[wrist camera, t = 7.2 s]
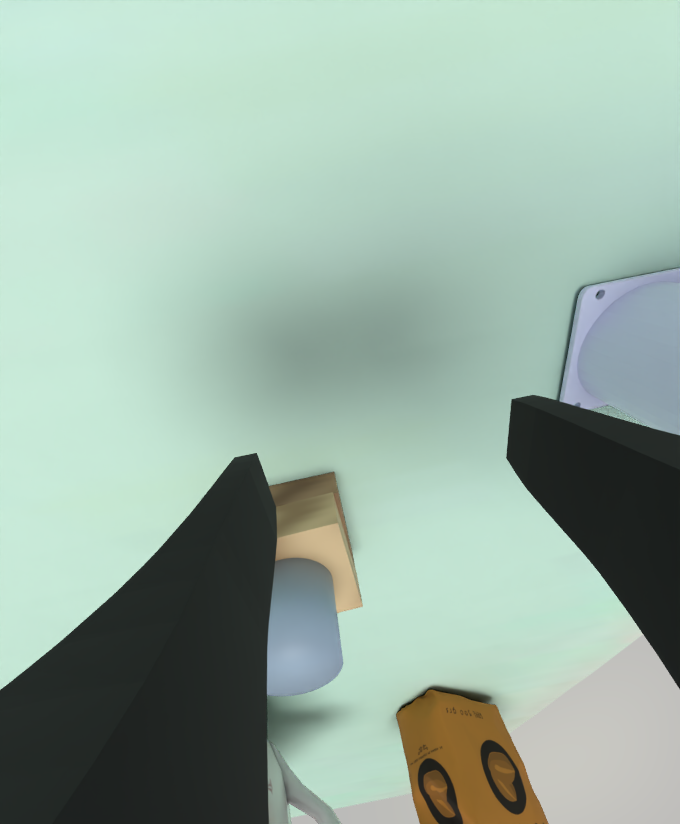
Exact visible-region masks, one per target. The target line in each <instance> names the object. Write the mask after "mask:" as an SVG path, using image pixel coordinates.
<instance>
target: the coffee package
mask: <svg viewBox="0 0 680 824" xmlns="http://www.w3.org/2000/svg"><path fill="white" fill-rule="evenodd" d="M396 717H397V721H398V725H399V729H400V734H401V738H402V744H403V748H404V753H405V757H406V761H407V765H408V771H409V778H410V783H411V789H412V796H413V801H414V804H415V808H416V811H417V815H418V818H419V822H420V824H548V821H547V819H546V817H545V814H544V812H543V809H542V807H541V805H540V802H539V800H538V799H537V797H536V795H535V793H534V791H533V789H532V787H531V784H530V781H529V779H528V775H527V772H526V769H525V766H524V763H523V761H522V760H521V758H520V756H519V754H518V752H517V750H516V748H515V746H514V744H513V742H512V739H511V737H510V735H509V733H508V731H507V729H506V727H505V724H504V722H503V720H502V718H501V715H500V713H499V710H498V708H497V706H496V705H492V704H486V703H481V702H477V701H473V700H469V699H467V698H465V697H463V696H459V695H455V694H449V693H443V692H438V691H435V690H432V689H431V690H428V691H427V692H426V694H425V695H424V696H420V697H417V698H416V699H415V700H414V701H413V702H412V704H409V705H406V706H405V708H401V711H399V712H398V713H397V715H396Z"/></svg>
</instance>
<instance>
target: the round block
mask: <svg viewBox="0 0 680 824" xmlns="http://www.w3.org/2000/svg"><path fill="white" fill-rule="evenodd" d="M342 666H343V657H342V650H341V642H340V634H339V626H338V618H337V610H336V602H335V594H334V586H333V578H332V575H331V573H330V571H329V570H328V569H327V568H326V567H325V566H324V565H322V564H321V563H319V562H316V561H314V560H310V559H306V558H286V559H281V560H277V561H275V569H274V578H273V588H272V598H271V608H270V617H269V629H268V645H267V695H270V696H291V695H298V694H303V693H307V692H310V691H313V690H316V689H318V688H320V687H322V686H324V685H326V684H328V683H329V682H331V681H332V680H333V679H334V678H335V677H336V676H337V675H338V674H339V672H340V671H341V669H342Z"/></svg>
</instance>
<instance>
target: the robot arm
mask: <svg viewBox="0 0 680 824" xmlns="http://www.w3.org/2000/svg"><path fill="white" fill-rule="evenodd" d="M598 291H599V294H598V296H597V297H596V294H597V292H598ZM575 403H576V404H575ZM574 404H575V405H574ZM608 405H610V406H612V407H614V408H616V409H618V410H619V411H621V412H623V413H625V414H627V415H629V416H630V417H632V418H634V419H636V420H638V421H639V422H641V423H643V424H645V425H647V426H649V427H646V426H642V425H639V424H635V423H632V422H628V421H625V420H621V419H618V418H614V417H611V416H608V415H604V414H601V413H598V412H594V411H591V410H589V409H593V408H598V407H603V406H608ZM506 458H507V460H508V461H509V463H510V465H511V466H512V468H513V469H514V471H515V473H516V474H517V476H518V477H519V478H520V480H521V481H522V483H523V484H524V486H525V487H526V488H527V490H528V491H529V492H530V493H531V494H532V495H533V497H534V498H535V499H536V500H537V501H538V502H539V504H540V505H541V506H542V507H543V508H544V509H545V510H546V512H547V513H548V514H549V515H550V516H551V517H552V518H553V519H554V521H555V522H556V523H557V524H558V525H559V526H560V527H561V529H562V530H563V531H564V532H565V533H566V534H567V535H568V536H569V538H570V539H571V540H572V541H573V542H574V543H575V544H576V545H577V547H578V548H579V549H580V550H581V551H582V552H583V553H584V554H585V556H586V557H587V558H588V559H589V561H590V562H591V563H592V564H593V565H594V567H595V568H596V569H597V570H598V572H599V573H600V574H601V576H602V577H603V578H604V580H605V581H606V582H607V584H608V585H609V587H610V588H611V589H612V591H613V592H614V593H615V595H616V596H617V597H618V599H619V600H620V602H621V603H622V604H623V606H624V607H625V608H626V610H627V611H628V613H629V614H630V616H631V617H632V618H633V620H634V621H635V623H636V624H637V626H638V627H639V629H640V630H641V632H642V633H643V634H644V636H645V637H646V639H647V640H648V642H649V643H650V645H651V646H652V647H653V649H654V650H655V652H656V653H657V655H658V656H659V658H660V659H661V661H662V662H663V664H664V665H665V667H666V669H667V670H668V672H669V673H670V675H671V676H672V678H673V679H674V681H675V683H676V684H677V686H678V687H679V688H680V268H676V269H671V270H666V271H660V272H655V273H650V274H645V275H640V276H635V277H630V278H625V279H620V280H615V281H610V282H605V283H600V284H595V285H590V286H587V287H585V288H583V289H582V290H581V292H580V293H579V296H578V300H577V306H576V311H575V317H574V322H573V328H572V333H571V339H570V344H569V350H568V356H567V361H566V367H565V372H564V378H563V383H562V389H561V395H560V400H559V401H557V400H553V399H549V398H545V397H541V396H536V395H531V396H526V397H521V398H516V399H512V401H511V412H510V423H509V435H508V446H507V457H506ZM276 548H277V515H276V505H275V502H274V500H273V497H272V494H271V491H270V489H269V486H268V483H267V480H266V477H265V475H264V472H263V469H262V466H261V464H260V461H259V458H258V455H257V453H254V454H249V455H245V456H240V457H235V458H234V459H233V460H232V461H231V463H230V464H229V465H228V466H227V468H226V469H225V470H224V472H223V473H222V474H221V475H220V477H219V478H218V479H217V481H216V482H215V483H214V485H213V486H212V487H211V488H210V490H209V491H208V492H207V493H206V495H205V496H204V497H203V498H202V500H201V501H200V502H199V503H198V505H197V506H196V507H195V508H194V510H193V511H192V512H191V513H190V515H189V516H188V517H187V518H186V519H185V520H184V521H183V523H182V524H181V525H180V526H179V527H178V528H177V529H176V531H175V532H174V533H173V534H172V535H171V536H170V537H169V539H168V540H167V541H166V542H165V543H164V544H163V546H162V547H161V548H160V549H159V550H158V551H157V552H156V553H155V554H154V555H153V556H152V557H151V558H150V559H149V560H148V561H147V562H146V563H145V564H144V566H143V567H141V568H140V569H139V570H138V571H137V572H136V573H135V574H134V575H133V576H132V577H131V578H130V579H129V580H128V581H127V582H126V583H125V584H124V585H123V586H122V587H121V588H120V589H119V590H118V591H117V592H116V593H115V594H114V595H113V596H112V597H110V598H109V599H108V600H107V601H106V602H105V603H104V604H103V605H101V606H100V607H99V608H98V609H97V610H96V611H95V612H93V613H92V614H91V615H90V616H89V617H88V618H87V619H86V620H84V621H83V622H82V623H81V624H80V625H79V626H78V627H77V628H75V629H74V630H73V631H72V632H71V633H70V634H69V635H68V636H66V637H65V638H64V639H63V640H62V641H61V642H59V643H58V644H57V645H56V646H55V647H53V648H52V649H51V650H50V651H49V652H47V653H46V654H45V655H44V656H42V657H41V658H40V659H39V660H37V661H36V662H35V663H34V664H33V665H31V666H30V667H29V668H28V669H26V670H25V671H24V672H23V673H21V674H20V675H19V676H18V677H16V678H15V679H14V680H13V681H11V682H10V683H9V684H7V685H6V686H5V687H4V688H2V689H1V690H0V824H269V808H268V759H267V645H268V629H269V617H270V608H271V598H272V588H273V578H274V569H275V558H276Z"/></svg>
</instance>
